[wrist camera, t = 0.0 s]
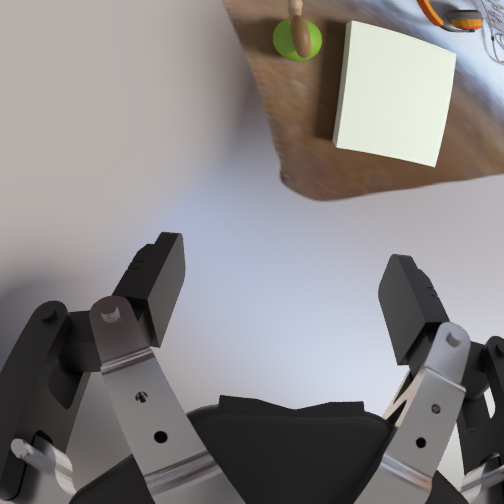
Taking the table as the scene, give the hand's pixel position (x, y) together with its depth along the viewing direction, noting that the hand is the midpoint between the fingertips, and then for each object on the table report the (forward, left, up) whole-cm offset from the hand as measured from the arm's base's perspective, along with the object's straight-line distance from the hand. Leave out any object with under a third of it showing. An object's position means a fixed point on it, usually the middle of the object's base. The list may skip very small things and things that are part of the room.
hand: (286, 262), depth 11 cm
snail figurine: (-11, +1, -30) cm, 31 cm away
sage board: (-6, +14, -29) cm, 33 cm away
